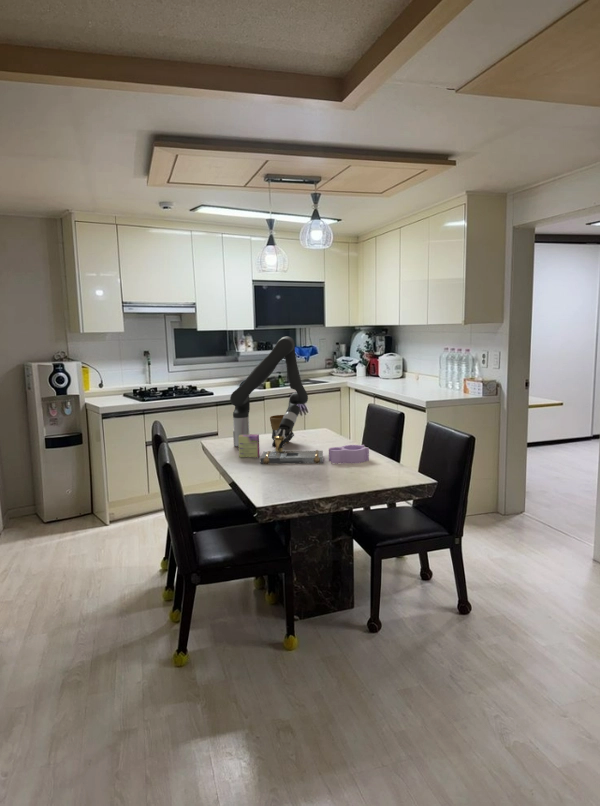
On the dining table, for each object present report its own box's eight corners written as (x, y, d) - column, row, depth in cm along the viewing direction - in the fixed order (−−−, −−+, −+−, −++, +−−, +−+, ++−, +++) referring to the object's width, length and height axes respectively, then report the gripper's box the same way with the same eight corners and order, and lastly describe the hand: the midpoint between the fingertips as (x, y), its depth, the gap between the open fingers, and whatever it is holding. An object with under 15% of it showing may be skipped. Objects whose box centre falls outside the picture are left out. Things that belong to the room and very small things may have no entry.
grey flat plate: (260, 464, 266) (260, 458, 265) (263, 456, 281) (263, 450, 280) (322, 463, 264) (322, 457, 264) (322, 455, 279) (322, 450, 279)
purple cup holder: (333, 465, 260) (333, 452, 259) (326, 459, 272) (326, 446, 271) (371, 462, 265) (370, 449, 264) (362, 456, 277) (362, 443, 276)
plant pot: (295, 445, 305) (294, 418, 302) (269, 445, 305) (268, 419, 303) (295, 439, 320) (294, 414, 317) (271, 440, 320) (270, 414, 317)
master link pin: (274, 455, 282) (273, 437, 281) (275, 453, 287) (274, 435, 286) (283, 455, 282) (282, 437, 281) (283, 453, 287) (283, 435, 285)
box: (259, 454, 285) (259, 433, 283) (258, 457, 279) (257, 436, 277) (241, 455, 286) (240, 434, 284) (239, 457, 280) (238, 436, 278)
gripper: (275, 416, 292) (263, 442, 283) (296, 418, 284) (284, 444, 276) (280, 424, 297) (269, 449, 289) (301, 426, 289) (290, 452, 281)
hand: (276, 447), depth 282 cm, fingers closed on master link pin, 4 cm apart
